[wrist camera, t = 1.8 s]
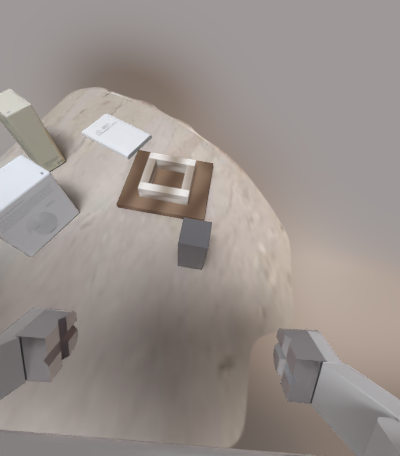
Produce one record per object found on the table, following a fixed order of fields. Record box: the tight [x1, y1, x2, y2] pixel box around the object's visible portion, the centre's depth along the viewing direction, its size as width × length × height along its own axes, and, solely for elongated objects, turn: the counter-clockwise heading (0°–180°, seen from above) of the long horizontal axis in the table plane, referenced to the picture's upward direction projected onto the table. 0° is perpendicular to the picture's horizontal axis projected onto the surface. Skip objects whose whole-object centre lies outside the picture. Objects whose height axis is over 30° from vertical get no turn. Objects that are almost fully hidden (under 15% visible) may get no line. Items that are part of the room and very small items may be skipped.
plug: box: [178, 218, 212, 270], centre depth 35 cm, size 4×4×9 cm
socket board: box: [117, 150, 213, 221], centre depth 44 cm, size 16×14×4 cm
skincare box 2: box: [0, 155, 79, 257], centre depth 34 cm, size 10×6×10 cm, turn 149°
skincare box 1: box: [0, 89, 65, 172], centre depth 40 cm, size 6×4×12 cm
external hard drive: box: [82, 114, 152, 159], centre depth 50 cm, size 2×8×12 cm
